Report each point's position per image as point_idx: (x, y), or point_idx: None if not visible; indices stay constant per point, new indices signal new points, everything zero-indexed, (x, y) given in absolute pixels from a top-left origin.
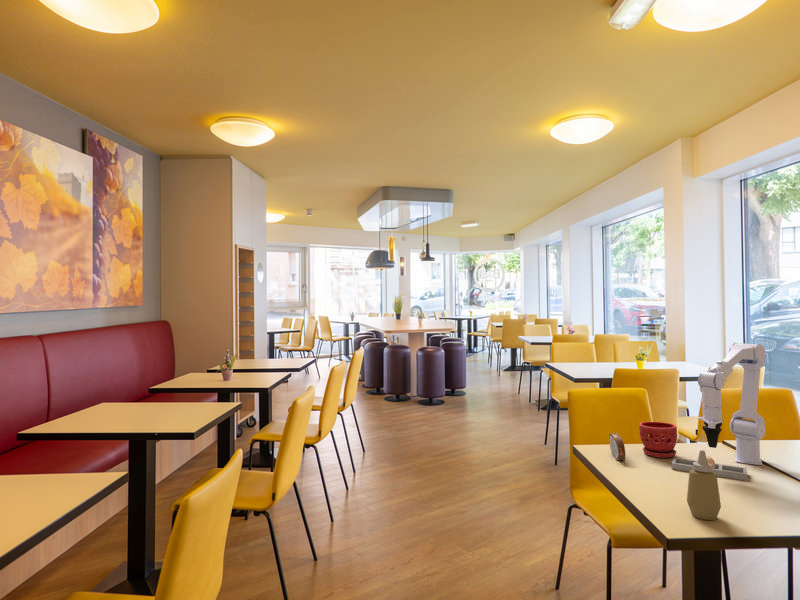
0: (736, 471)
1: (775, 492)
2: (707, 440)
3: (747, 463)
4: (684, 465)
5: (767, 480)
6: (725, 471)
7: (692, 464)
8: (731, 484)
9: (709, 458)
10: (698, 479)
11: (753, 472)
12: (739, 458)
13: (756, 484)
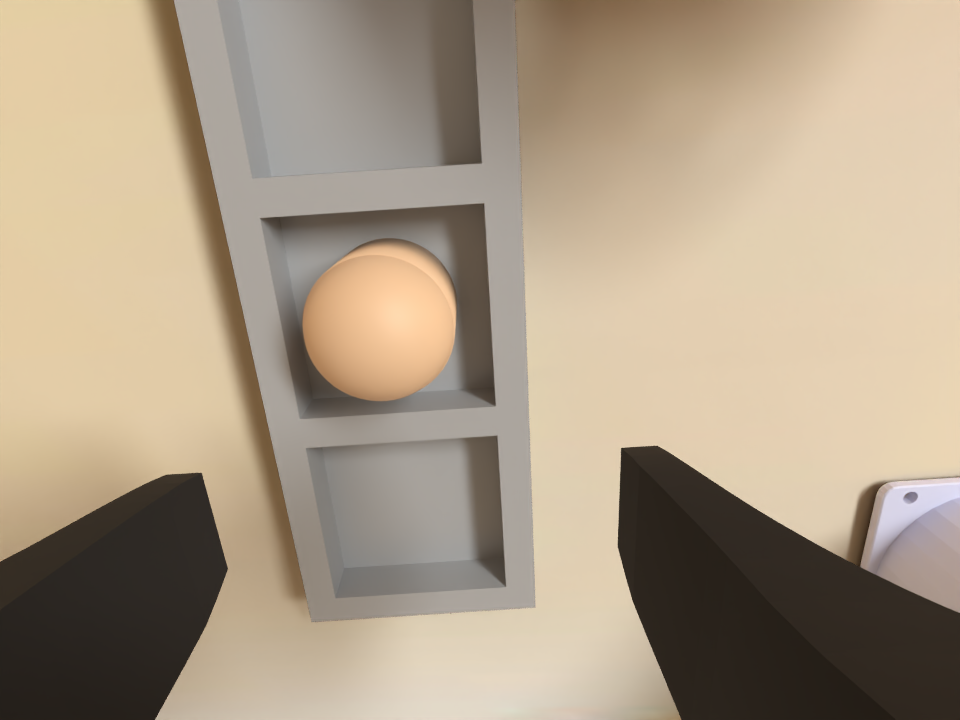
0: (499, 516)
1: (174, 714)
2: (31, 547)
3: (861, 561)
4: (187, 49)
5: (439, 674)
6: (282, 475)
7: (478, 125)
8: (122, 494)
9: (337, 367)
10: None
11: (608, 600)
12: (937, 525)
13: (275, 627)
